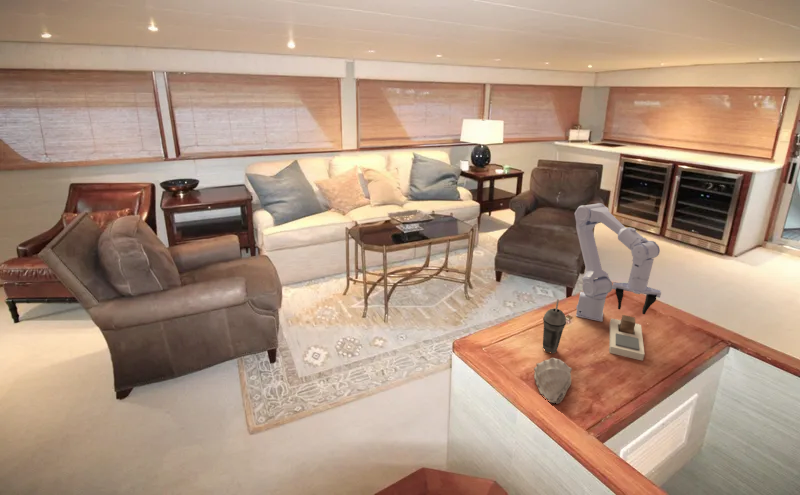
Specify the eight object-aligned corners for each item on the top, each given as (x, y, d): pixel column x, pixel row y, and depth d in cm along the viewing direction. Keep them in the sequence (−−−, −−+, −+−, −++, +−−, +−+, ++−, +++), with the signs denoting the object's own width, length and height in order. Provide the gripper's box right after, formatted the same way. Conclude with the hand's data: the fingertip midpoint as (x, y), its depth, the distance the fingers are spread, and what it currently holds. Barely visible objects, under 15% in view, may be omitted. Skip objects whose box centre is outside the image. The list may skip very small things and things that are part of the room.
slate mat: (615, 345, 141) (616, 343, 141) (615, 334, 147) (615, 333, 147) (639, 350, 138) (639, 349, 138) (638, 339, 144) (638, 338, 144)
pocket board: (609, 352, 141) (610, 346, 140) (609, 323, 158) (611, 318, 157) (642, 360, 137) (644, 354, 136) (639, 330, 154) (641, 324, 153)
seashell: (547, 407, 117) (552, 378, 114) (526, 375, 130) (530, 348, 126) (587, 403, 119) (593, 374, 115) (562, 371, 132) (567, 345, 128)
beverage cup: (561, 346, 144) (571, 295, 137) (559, 358, 138) (569, 305, 131) (540, 341, 147) (548, 290, 140) (537, 352, 141) (545, 300, 133)
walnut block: (618, 336, 150) (622, 320, 147) (618, 331, 153) (622, 314, 151) (631, 339, 148) (635, 322, 146) (630, 334, 152) (634, 317, 149)
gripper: (616, 276, 141) (608, 311, 146) (665, 284, 136) (655, 320, 141) (615, 268, 147) (608, 302, 152) (663, 276, 142) (653, 311, 147)
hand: (631, 310), depth 147 cm, fingers open, 7 cm apart
